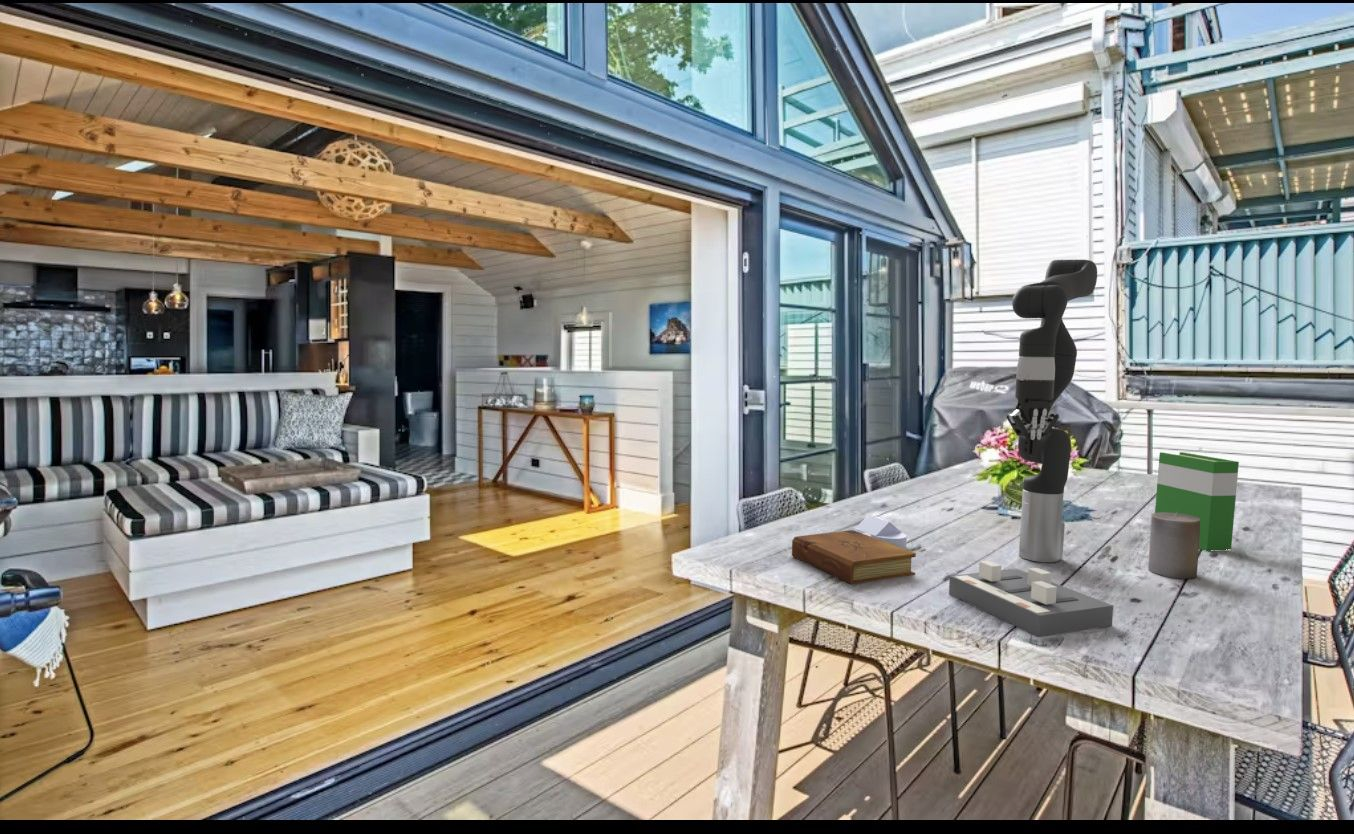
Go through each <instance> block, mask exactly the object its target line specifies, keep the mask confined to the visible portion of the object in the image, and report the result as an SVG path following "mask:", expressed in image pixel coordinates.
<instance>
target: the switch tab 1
mask: <svg viewBox="0 0 1354 834" xmlns="http://www.w3.org/2000/svg"><path fill="white" fill-rule="evenodd" d="M978 563H979V564H978V573H979V577H981V578H984V579H986V580H989V581H991V582H992V581H1000V580H1001V570H1002V565H1001V564H998V563H995V562H993V561H990V560H982V561H979V562H978Z"/></svg>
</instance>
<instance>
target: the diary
mask: <svg viewBox="0 0 1354 834" xmlns="http://www.w3.org/2000/svg"><path fill="white" fill-rule="evenodd" d="M791 556H792V557H793V558H795V559H797V560H799V561H801V562H803V563H805V562H806V564H807V563H808V564H807V565H809V564H810V565H809V566H812V567H814V568H816V569H818V570H820V571H822V572H824V571H825V573H826V572H827V574H828V575H831V576H833V577H834V578H837V579H839V580H842V581H844V582H846V583H847V584H850V585H855V584H863V583H869V582H876V581H883V580H889V579H896V578H902V577H907V576H915V574H916V572H915V571H912V558H916V557H917V553H916V552H913V551H911V550H908V549H907V548H906V549H903V548H900V547H898V546H895V545H892V544H889V543H887V542H884V541H881V540H878V539H876V538H873V537H871V535H868V534H864V533H862V532H859V531H858V530H857V531H856V530H853V529H850V530H849V529H848V530H841V531H833V532H832V531H831V532H823V533H816V534H806V535H798V536H797V535H796V536H794V537H793V539H792V543H791Z"/></svg>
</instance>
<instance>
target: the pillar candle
mask: <svg viewBox="0 0 1354 834" xmlns="http://www.w3.org/2000/svg"><path fill="white" fill-rule="evenodd" d="M1177 512H1178V511H1177ZM1177 512H1176V513H1164V512H1162V513H1155V512H1153V513H1151V514H1150V515H1151V521H1150V533H1149V534H1150V535H1149V549H1148V567H1147V569H1148V571H1149V572H1150V573H1153V574H1157V575H1159V576H1161V577H1166V578H1172V579H1181V580H1182V579H1183V580H1184V579H1187V580H1188V579H1195V578H1197V577H1198V565H1199V564H1198V562H1199V553H1200V551H1199V550H1200V549H1199V538H1200V519H1199V518H1197V517H1194V516H1190V515H1185V514H1178V513H1177Z"/></svg>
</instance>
